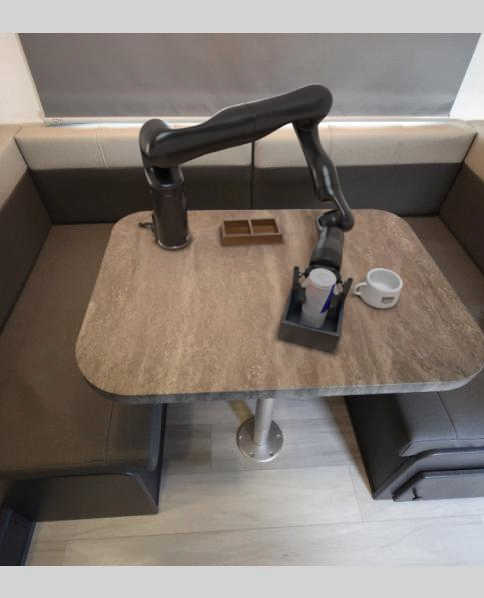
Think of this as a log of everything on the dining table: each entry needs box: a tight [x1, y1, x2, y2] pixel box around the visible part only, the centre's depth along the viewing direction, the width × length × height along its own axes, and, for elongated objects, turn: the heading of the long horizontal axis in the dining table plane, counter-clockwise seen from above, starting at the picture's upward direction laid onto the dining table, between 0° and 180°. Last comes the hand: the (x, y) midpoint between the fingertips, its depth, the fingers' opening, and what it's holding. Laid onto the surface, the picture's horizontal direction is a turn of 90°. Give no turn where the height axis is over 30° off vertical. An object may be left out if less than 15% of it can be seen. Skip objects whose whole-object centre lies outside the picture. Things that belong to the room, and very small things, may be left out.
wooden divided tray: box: [220, 216, 283, 246], centre depth 106 cm, size 9×17×3 cm, turn 97°
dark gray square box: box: [277, 286, 346, 354], centre depth 81 cm, size 13×13×6 cm
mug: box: [352, 267, 404, 310], centre depth 88 cm, size 12×10×6 cm
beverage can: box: [299, 268, 336, 329], centre depth 77 cm, size 6×6×15 cm
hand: (315, 306), depth 75 cm, fingers closed on beverage can, 5 cm apart
